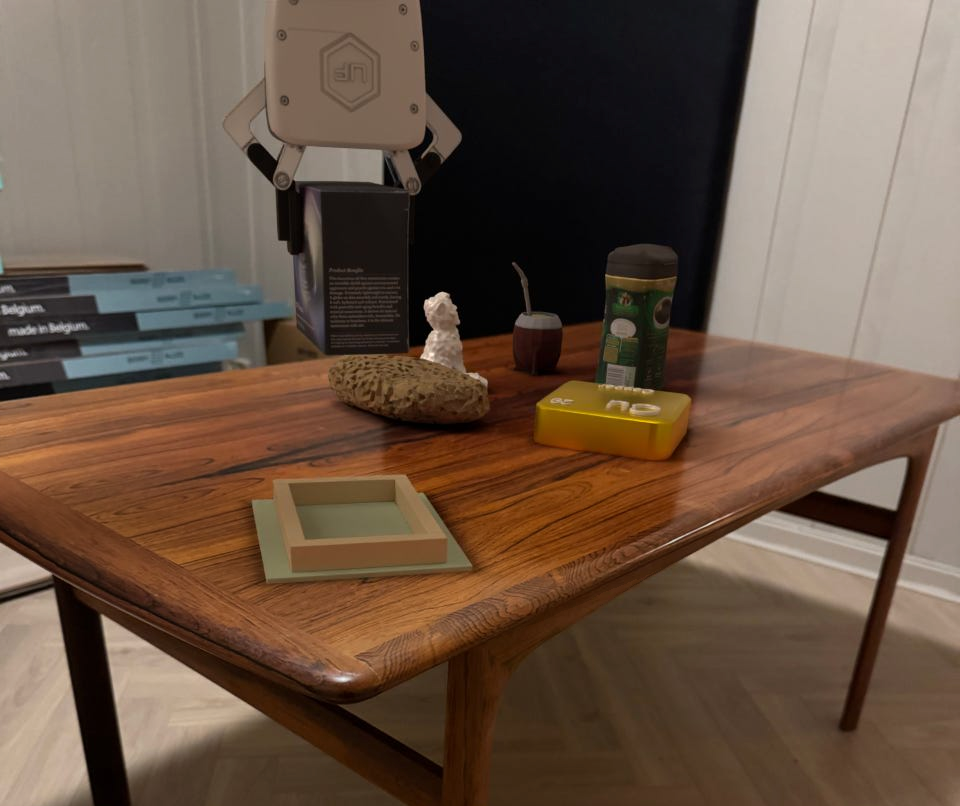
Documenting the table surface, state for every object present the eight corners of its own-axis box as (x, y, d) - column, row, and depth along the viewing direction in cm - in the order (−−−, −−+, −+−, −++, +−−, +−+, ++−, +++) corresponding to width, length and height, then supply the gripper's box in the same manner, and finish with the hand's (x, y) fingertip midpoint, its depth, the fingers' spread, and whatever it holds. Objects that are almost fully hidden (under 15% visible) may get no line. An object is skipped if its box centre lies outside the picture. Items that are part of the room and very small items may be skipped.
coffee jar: (618, 383, 133) (635, 239, 125) (670, 392, 129) (690, 245, 121) (583, 393, 126) (598, 242, 118) (637, 404, 122) (656, 248, 114)
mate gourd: (560, 369, 140) (569, 260, 133) (558, 380, 133) (568, 265, 126) (509, 366, 140) (516, 256, 133) (505, 377, 133) (512, 262, 126)
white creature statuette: (491, 395, 123) (496, 297, 117) (430, 399, 119) (432, 298, 114) (461, 379, 130) (464, 286, 125) (402, 382, 127) (403, 287, 121)
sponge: (317, 415, 114) (400, 419, 98) (320, 348, 113) (405, 340, 97) (411, 425, 122) (502, 429, 106) (416, 361, 120) (509, 357, 104)
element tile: (688, 431, 111) (695, 390, 109) (666, 465, 98) (673, 419, 96) (564, 415, 115) (568, 374, 113) (528, 445, 103) (531, 400, 100)
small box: (290, 329, 73) (284, 177, 68) (372, 328, 75) (372, 181, 70) (319, 356, 64) (315, 184, 59) (412, 354, 66) (415, 188, 62)
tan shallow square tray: (267, 586, 67) (265, 552, 66) (251, 506, 81) (250, 477, 80) (472, 573, 71) (474, 540, 70) (423, 498, 85) (423, 470, 84)
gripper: (196, -85, 53) (221, 257, 61) (493, -52, 58) (479, 263, 66) (194, -61, 60) (217, 246, 68) (462, -34, 64) (453, 251, 72)
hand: (346, 252), depth 67 cm, fingers closed on small box, 6 cm apart
